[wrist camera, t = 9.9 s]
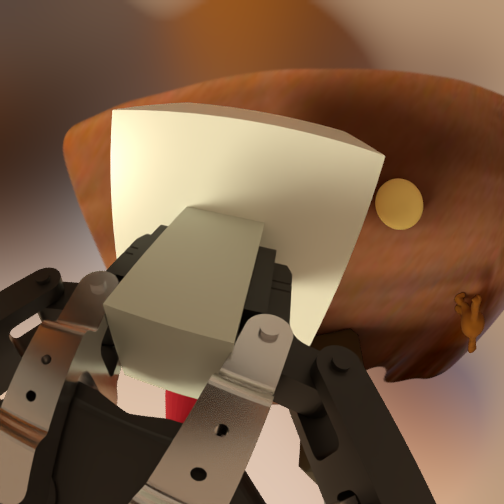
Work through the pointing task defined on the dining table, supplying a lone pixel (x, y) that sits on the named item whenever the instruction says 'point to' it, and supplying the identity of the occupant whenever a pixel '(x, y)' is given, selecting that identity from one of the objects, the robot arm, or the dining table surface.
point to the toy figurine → (470, 318)
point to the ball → (399, 204)
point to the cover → (225, 228)
